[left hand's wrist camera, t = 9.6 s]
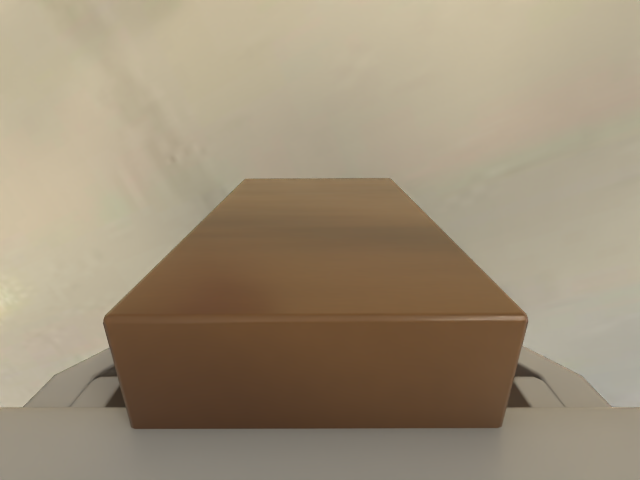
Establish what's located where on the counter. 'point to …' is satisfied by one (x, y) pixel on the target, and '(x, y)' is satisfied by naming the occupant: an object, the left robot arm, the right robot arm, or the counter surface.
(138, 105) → the counter surface
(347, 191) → the bar
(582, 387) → the left robot arm
